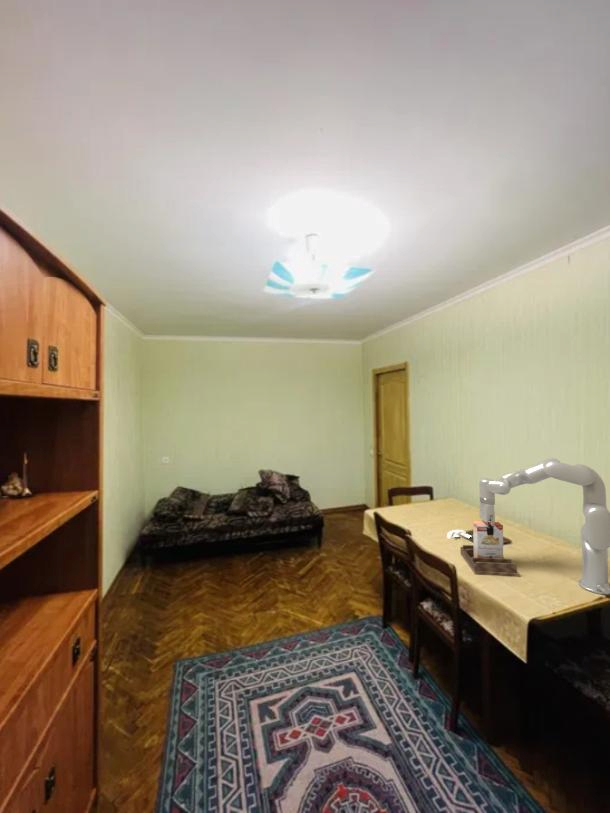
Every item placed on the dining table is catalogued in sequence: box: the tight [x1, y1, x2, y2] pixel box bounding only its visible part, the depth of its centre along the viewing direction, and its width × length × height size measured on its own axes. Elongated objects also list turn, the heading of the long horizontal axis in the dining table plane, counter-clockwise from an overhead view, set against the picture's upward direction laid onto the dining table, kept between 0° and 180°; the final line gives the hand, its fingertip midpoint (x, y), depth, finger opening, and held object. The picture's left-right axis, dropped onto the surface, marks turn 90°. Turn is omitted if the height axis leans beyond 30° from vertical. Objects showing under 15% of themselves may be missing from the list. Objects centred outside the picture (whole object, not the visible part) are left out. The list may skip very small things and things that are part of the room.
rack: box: [460, 544, 521, 578], centre depth 188 cm, size 22×24×6 cm
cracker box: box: [472, 520, 504, 559], centre depth 188 cm, size 14×6×21 cm, turn 84°
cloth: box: [446, 529, 473, 540], centre depth 230 cm, size 20×22×2 cm
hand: (487, 532), depth 188 cm, fingers closed on cracker box, 6 cm apart
